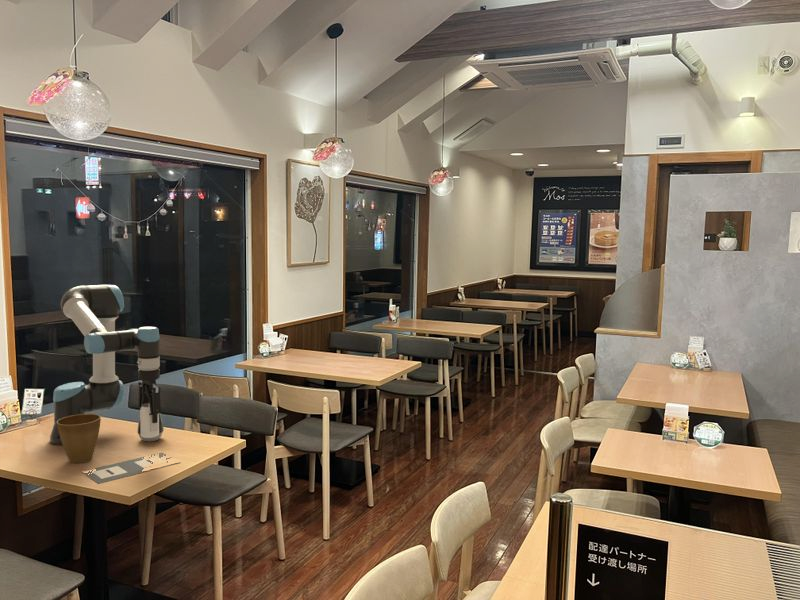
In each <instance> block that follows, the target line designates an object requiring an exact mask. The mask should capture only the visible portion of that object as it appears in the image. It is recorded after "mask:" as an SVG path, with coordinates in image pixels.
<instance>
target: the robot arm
mask: <svg viewBox="0 0 800 600" xmlns="http://www.w3.org/2000/svg"><path fill="white" fill-rule="evenodd" d="M124 308H125V301H124V295H123V292H122V291H121V289H120V288H119V287H118V286H117V285H115V284H97V285H96V284H95V285H92V284H91V285H78V286H75V287H72V288H70V289H69V290H67V291H66V292H65V293H64V294H63V295H62V298H61V300H60V309H61V311H62V314H63V315H64V316H65V317H66V318H69V319H71V320H72V322H73V323H74V324H75V326H76V327H77V328H78V330H79V331H80V332H81V334H82V335H83V336H84V340H83V347H84V348H85V352H86V353H87V354H90V355H92V376H91V377H90V378H89V379H88V384H85V382H83V381H75V382H74V381H73V382H67V383H64V384H62V385H61V384H60V385H58V386H57V387H56V388H55V389H54V390H53V396H52V397H53V398H52V401H53V419H54V420H53V421H54V422H53V426H52V429H51V432H50V436H49V443H50V444H52V443H53V444H52V445H57V444H59V445H62V446H63V444H62V442H61V438H60V435H59V431H58V427H57V421H58V420H59V419H61V418H64V417H68V416H73V415H79V414H87V413H91V412H96V411H98V412H99V411H104V410H110V409H114V408H118V407H119V406H120V405H122V403H123V400H124V396H125V388H124V383H123V381H122V380H120V379H119V376H118V375H116V352H124V351H134V350H136V351H137V361H136V364H137V368H138V370H137V379H138V380H139V381H138V408H141V407H142V406H141V405H142V404H145V403H149V404H150V411H151V413H150V414H149V415H150V432H153V431H158V413H160V414H161V412H162V409H161V408H162V407H161V387H160V386H158V385H157V382H156V381H157V380H159V379H160V377H161V375H160V374H161V373H160V372H161V369H160V366H161V363H160V361H161V360H160V359H161V358H160V357H161V356H160V338H161V336H160V332H159V331H160V330H159V328H158V327H156V326H141V327H139V328H129V329H127V330H116V320H117V319H118V318H119V317H120V315H119V313H121V312H123V311H124ZM59 445H58V446H59Z"/></svg>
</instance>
